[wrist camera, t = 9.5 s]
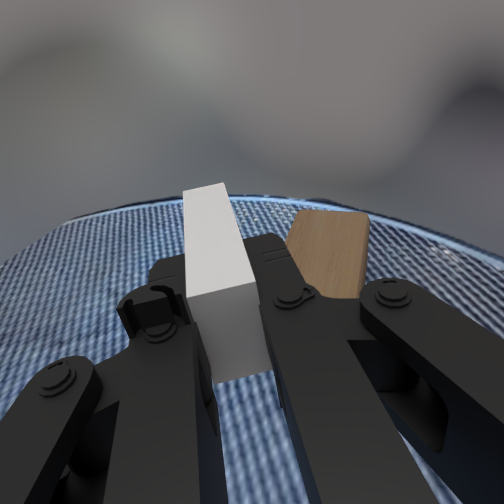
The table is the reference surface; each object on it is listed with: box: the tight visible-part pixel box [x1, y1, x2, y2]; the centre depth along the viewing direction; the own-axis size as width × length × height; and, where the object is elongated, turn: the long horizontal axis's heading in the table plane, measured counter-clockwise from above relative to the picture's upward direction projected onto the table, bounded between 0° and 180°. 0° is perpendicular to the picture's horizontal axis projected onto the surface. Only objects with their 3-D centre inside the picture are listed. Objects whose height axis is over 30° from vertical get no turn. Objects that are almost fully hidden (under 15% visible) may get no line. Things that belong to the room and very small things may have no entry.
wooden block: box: [285, 210, 370, 298], centre depth 46 cm, size 10×10×20 cm
